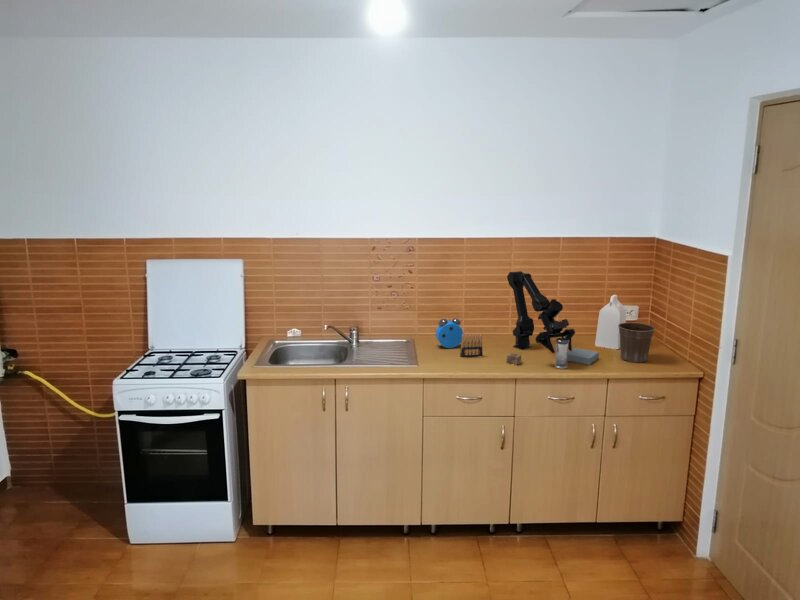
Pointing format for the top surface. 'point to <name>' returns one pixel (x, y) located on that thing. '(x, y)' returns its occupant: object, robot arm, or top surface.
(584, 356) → the stand
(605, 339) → the milk
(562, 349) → the glass shaker
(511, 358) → the offcut block
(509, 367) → the top surface
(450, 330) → the alarm clock
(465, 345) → the ammunition clip
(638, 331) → the plant pot
